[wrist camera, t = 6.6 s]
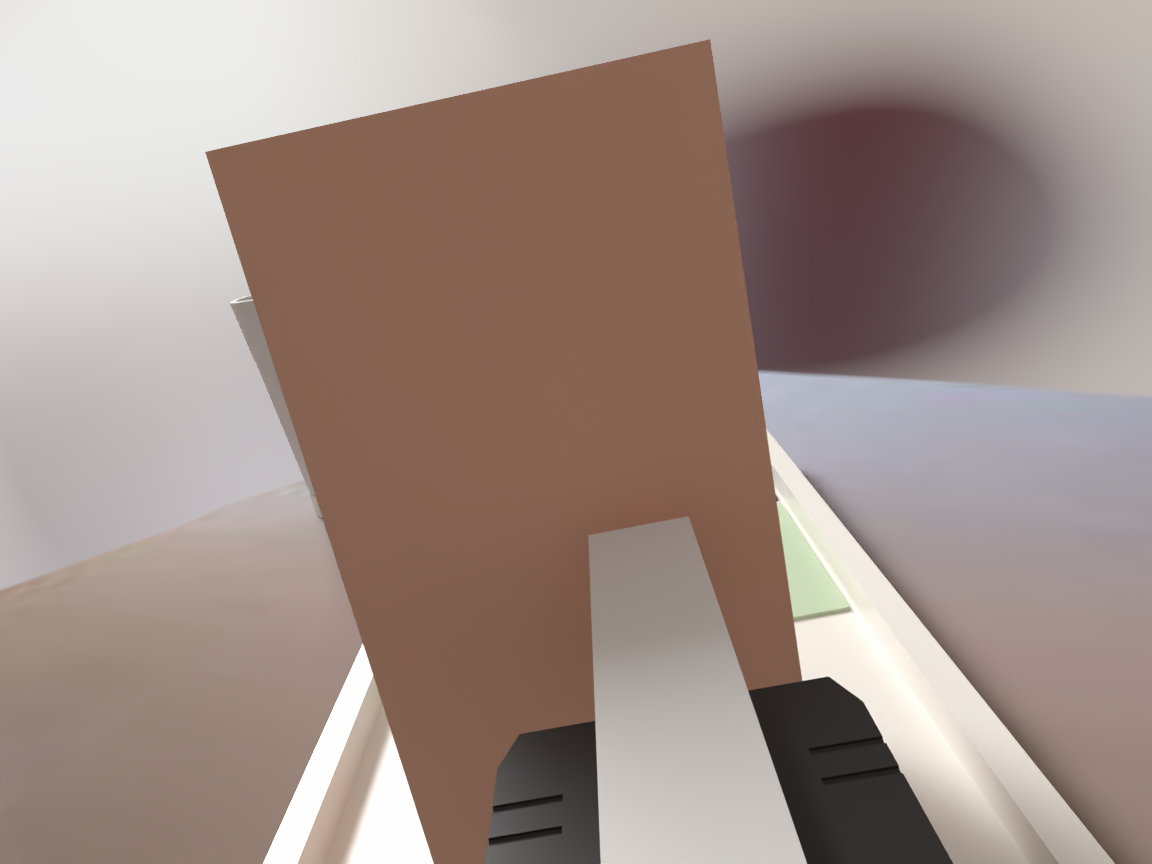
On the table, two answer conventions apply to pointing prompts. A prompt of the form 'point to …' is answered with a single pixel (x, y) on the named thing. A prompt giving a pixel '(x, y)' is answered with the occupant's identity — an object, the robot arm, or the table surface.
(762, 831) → the robot arm
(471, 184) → the block
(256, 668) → the table surface
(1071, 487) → the table surface
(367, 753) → the sorting tray
